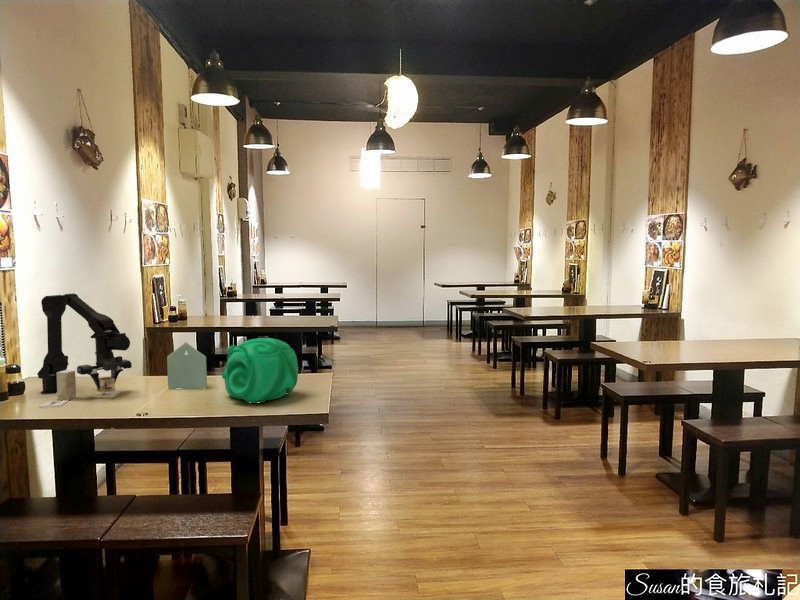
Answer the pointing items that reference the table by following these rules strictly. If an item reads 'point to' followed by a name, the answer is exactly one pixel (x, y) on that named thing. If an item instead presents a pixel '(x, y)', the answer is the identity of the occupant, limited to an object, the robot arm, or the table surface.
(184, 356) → the house-shaped tag
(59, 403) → the pad
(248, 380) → the sculpture
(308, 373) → the table surface
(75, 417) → the table surface
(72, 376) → the box
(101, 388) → the letter cube
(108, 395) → the pad
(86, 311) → the robot arm
